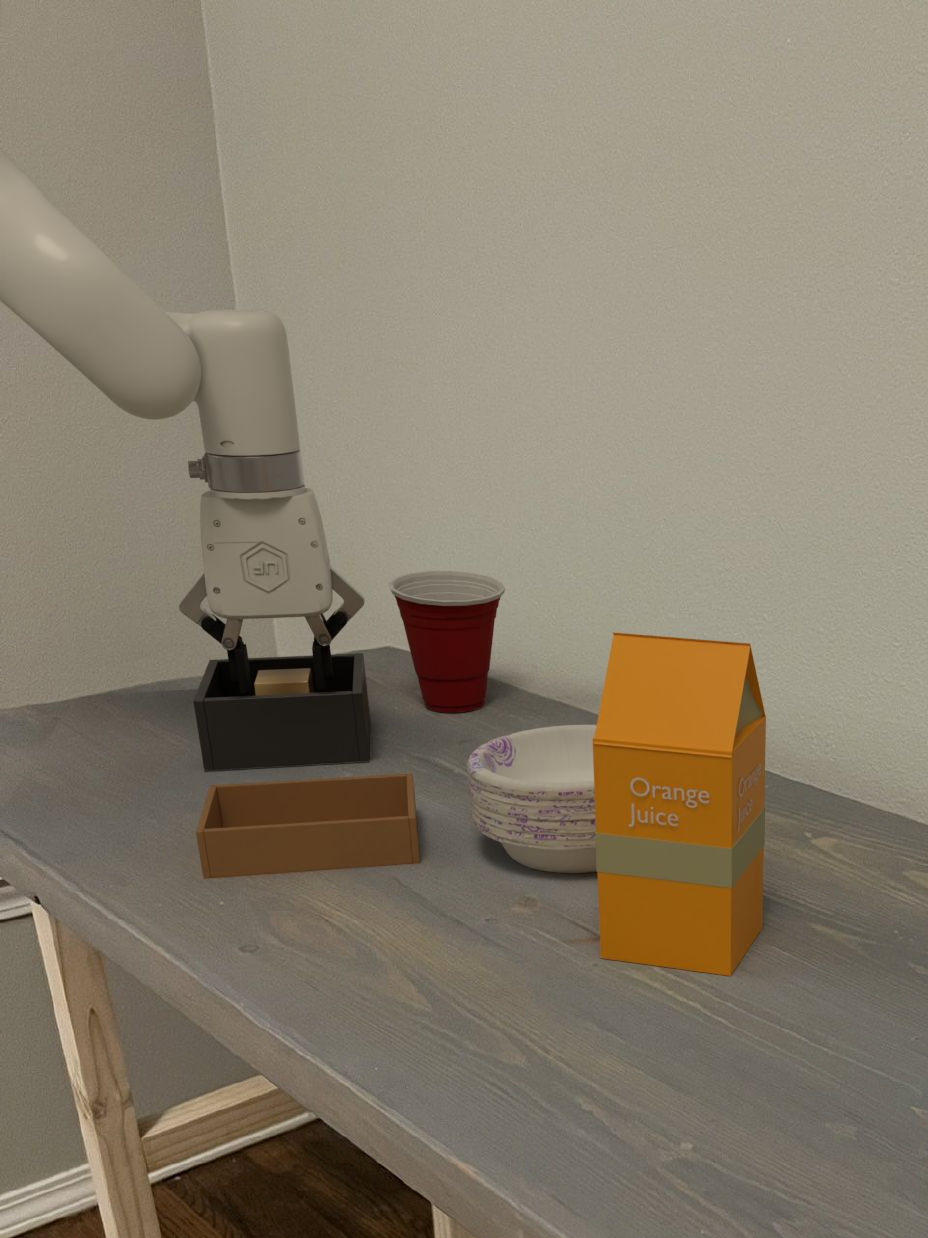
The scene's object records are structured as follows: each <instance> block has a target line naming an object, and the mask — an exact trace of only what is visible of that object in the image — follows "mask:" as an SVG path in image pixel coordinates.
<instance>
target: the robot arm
mask: <svg viewBox="0 0 928 1238" xmlns="http://www.w3.org/2000/svg"><path fill="white" fill-rule="evenodd" d="M0 302H1V303H2V304H4V306H5V307H7V308H8V309H9V310H10V311H12V312H13V314H16V316H17V317H18V318H19V319H20V320H22V321H23V323H25V324H26V325H27V326H29V328H31V329H32V330H33V331H34V332H35V333H36V334H37V335H38V336H40V337H41V338H42V339H43V340H45V342H46V343H48V344H49V345H50V346H51V347H52V348H53V349H54V350H56V352H58V354H60V355H61V356H62V357H63V358H64V359H65V360H67V361H68V362H69V363H70V364H71V365H72V366H73V367H74V368H75V369H76V370H77V371H78V372H80V373H81V374H82V375H83V376H84V377H85V378H86V379H87V380H89V381H90V383H91V384H93V386H95V387H96V388H97V389H98V390H99V391H100V392H101V393H103V395H105V396H106V397H107V398H108V399H109V400H110V401H111V402H112V403H113V404H114V405H116V407H118V408H119V409H121V410H122V411H124V412H126V413H128V414H130V415H132V416H135V417H137V418H140V419H146V420H152V421H153V420H154V421H155V420H165V419H169V418H173V417H175V416H177V415H178V414H180V413H183V411H185V410H186V409H187V408H188V407H189V406H190V405H191V404H192V403H193V402H195V403H196V405H197V408H198V414H199V422H200V429H201V434H202V435H201V436H202V442H203V448H204V452H205V453H204V454H203V456H202V457H201V458H197V460H188V461H187V468H188V474H189V478H190V479H199V480H203V481H204V483H207V485H208V489H209V490H207V491H204V492H203V493H202V494H201V495H200V507H199V509H200V511H199V524H200V527H199V528H200V542H201V555H202V565H203V573H202V574H201V576H200V577H199V578H198V580H197V581H196V583H195V584H193V586H192V587H191V588H190V590H189V591H188V593H187V594H185V596H184V597H183V599H182V600H181V601H180V603H179V605H178V609H179V611H180V613H181V614H183V615H184V616H185V617H187V618H188V619H189V620H191V621H192V622H193V623H195V625H196V624H197V625H198V626H199V627H201V629H202V630H203V631H204V632H206V634H208V635H209V636H210V637H212V638H213V639H214V640H216V641H217V642H218V643H219V644H220V645H221V646H222V648H223V649H224V650H225V651H226V654H227V659H228V661H229V667H230V674H231V681H232V684H239V685H240V692H241V696H247V695H248V694H250V691H251V688H252V681H251V674H250V667H249V660H248V658H249V653H248V648H247V647H248V646H247V644H246V643H245V642H244V641H243V637H242V636H241V635H240V634H241V630H242V627H243V622H244V620H255V619H256V620H257V619H258V620H259V619H281V618H282V619H283V618H285V619H286V618H305V620H306V622H307V624H308V626H309V627H310V628H309V629H310V630H311V632H312V634H313V641H312V647H311V651H312V655H313V661H314V669H315V677H316V686H317V691H320V692H326V685H327V682H326V680H333V667H332V659H331V655H332V651H331V650H332V649H331V643H332V641H333V640H334V639H335V638H336V637H337V635H338V634H339V633H340V632H341V631H342V630H343V629H344V627H345V626H346V625H347V624H348V622H349V621H350V620H351V619H353V617H355V615H357V613H358V612H359V611H360V610H361V609H362V608H363V607H364V606H365V602H366V601H365V600H366V599H365V596H364V595H363V593H361V591H359V590H358V589H357V588H356V587H355V586H354V585H352V583H350V582H349V581H348V580H347V579H346V578H345V577H344V576H343V575H342V574H341V573H340V572H338V570H336V569H335V568H334V567H333V566H332V565H331V561H330V556H329V555H330V554H329V549H328V544H327V537H326V533H325V528H324V524H323V519H322V515H321V512H320V508H319V507H320V506H319V504H318V501H317V497H316V495H315V492H314V490H313V489H311V488H309V487H306V485H305V477H304V468H303V467H304V466H303V459H302V450H301V443H300V433H299V426H298V425H299V424H298V417H297V410H296V402H295V401H296V400H295V393H294V384H293V376H292V367H291V360H290V359H291V357H290V350H289V341H288V335H287V330H286V326H285V324H284V322H283V320H282V319H281V318H280V317H279V316H277V315H276V313H273V312H271V311H267V310H261V309H210V310H203V311H200V312H197V313H187V312H176V311H165V310H164V309H163V308H162V307H160V306H159V305H158V304H157V303H156V302H155V301H154V300H153V299H152V298H151V297H150V296H149V295H148V294H147V293H146V292H145V291H144V290H143V289H142V288H141V287H140V286H139V285H138V284H137V283H136V282H134V281H133V280H132V279H131V277H129V276H128V275H127V274H126V273H125V272H124V271H123V270H122V269H121V267H119V266H118V265H117V264H116V263H115V262H114V261H113V260H112V259H111V258H110V257H108V255H107V254H105V253H104V252H103V251H102V250H101V249H100V248H99V247H98V246H97V245H96V244H95V243H94V242H93V241H92V240H91V239H90V238H89V237H87V235H85V234H84V232H82V231H81V230H80V229H79V228H78V227H77V226H76V225H75V224H74V223H73V222H72V221H71V220H70V218H68V217H67V216H66V215H65V214H64V213H63V212H62V211H61V210H60V209H59V208H58V207H57V206H56V205H55V204H54V203H53V202H52V200H51V199H50V198H49V197H48V196H47V195H46V194H45V192H44V191H43V190H42V189H41V188H40V187H39V186H38V185H37V183H35V181H33V179H32V178H31V177H30V176H29V175H27V174H26V172H24V171H23V170H22V169H21V168H20V167H19V166H18V165H17V163H15V162H14V161H13V159H11V158H10V157H9V156H8V155H7V154H6V153H5V152H4V151H3V150H2V149H1V148H0ZM334 592H335V593H336V594H337V595H338V596H339V597H340V598H341V599H342V601H343V603H341V605H339V607H338V608H337V609H335V610H334V612H332V614H331V615H329V617H328V619H327V618H326V615H325V613H326V612H328V611H329V610H330V609H331V607H332V604H333V600H334V599H333V598H334V594H333V593H334ZM206 597H207V603H208V606H209V609H210V611H211V612H209V611H208V610H207V609H206V608H204V606H203V604H202V603H203V602H204V600H205V598H206ZM218 617H220V618H222V619H226V622H224V621H222V620H221V619H220V618H218Z"/></svg>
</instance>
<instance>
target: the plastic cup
mask: <svg viewBox="0 0 928 1238" xmlns="http://www.w3.org/2000/svg"><path fill="white" fill-rule="evenodd" d="M388 587H389V589H390V592H391V595H393V596H394V598H395V601H396V605H397V607H398V611H399V614H400V617H401V620H402V623H403V627H404V631H405V635H406V640H407V643H408V648H409V652H410V655H411V660H412V664H413V668H414V672H415V674H416V676H417V680H418V683H419V688H420V693H421V696H422V699H423V702H424V705H425V706H426V709H427V710H430V711H432V712H438V713H445V714H446V713H448V714H453V713H454V714H457V713H466V712H467V713H468V712H471V711H475V710H478V709H481V708H483V706H484V705H485V699H486V697H487V688H488V678H489V677H488V676H489V671H490V667H491V658H492V657H491V656H492V648H493V639H494V629H495V620H496V618H497V612H498V608H499V605H500V600H501V597H502V596H503V595H504V594H505V591H506V587H505V585H504V584H503V582H501V581H500V580H498V579H496V578H493V577H491V576H488V575H483V574H480V573H479V574H478V573H474V572H465V571H456V570H426V571H418V572H410V573H406V574H403V575H401V576H400V575H399V576H396V577H394V578H393V579H392V580H391V581H389V582H388Z"/></svg>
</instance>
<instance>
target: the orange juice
mask: <svg viewBox="0 0 928 1238" xmlns="http://www.w3.org/2000/svg"><path fill="white" fill-rule="evenodd" d="M612 635H613V636H612V641H611V646H610V651H609V655H608V656H609V658H608V661H607V668H606V672H605V678H604V683H603V689H602V693H601V699H600V705H599V711H598V717H597V721H596V725H597V726H596V731H595V737H594V738H592V739H593V766H594V793H595V819H596V833H595V842H596V869H597V871H596V873H597V894H598V896H597V897H598V922H599V925H598V926H599V950H600V959H605V960H611V961H619V962H627V963H633V964H640V965H649V966H654V967H655V966H656V967H661V968H668V969H669V968H670V969H675V970H677V969H678V970H683V971H690V972H698V973H704V974H713V975H719V976H725V977H726V976H727V977H731V976H732V975H733V973H734V972H735V970H736V969H737V967H738V966H739V965H740V963H741V961H742V960H743V958H744V956H745V955H746V953H747V952H748V950H749V949H750V947H752V944H753V943H754V941H755V940H756V938H757V937H758V936H759V934H760V932H761V931H762V929H763V913H764V912H763V911H764V910H763V909H764V908H763V907H764V854H765V853H764V852H765V851H764V849H765V845H766V843H765V839H766V838H765V837H766V836H765V835H766V807H765V804H766V803H765V802H766V801H765V799H766V798H765V797H766V739H767V733H766V732H767V716H766V711H765V707H764V702H763V697H762V693H761V689H760V683H759V679H758V674H757V670H756V665H755V659H754V656H753V651H752V646H751V643H748V642H747V643H746V642H735V641H723V640H711V639H699V638H698V639H697V638H687V637H675V636H674V637H673V636H660V635H650V634H649V635H648V634H638V633H637V634H636V633H623V632H612Z"/></svg>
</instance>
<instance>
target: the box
mask: <svg viewBox="0 0 928 1238" xmlns="http://www.w3.org/2000/svg"><path fill="white" fill-rule="evenodd" d="M415 792H416V791H415V782H414V774H413V773H412V772H411V773H396V774H395V773H394V774H378V775H361V776H360V775H359V776H345V777H327V778H310V779H308V778H307V779H294V780H275V781H274V780H273V781H259V782H244V783H243V782H242V783H241V782H240V783H225V784H223V783H222V784H210V785H209V787H208V790H207V793H206V798H205V800H204V804H203V807H202V811H201V814H200V818H199V821H198V823H197V828H196V830H195V836H196V841H197V847H198V853H199V860H200V865H201V871H202V878H203V879H204V880H210V879H221V878H222V879H223V878H236V877H237V878H238V877H252V876H253V877H254V876H265V875H266V876H267V875H279V874H281V875H282V874H293V873H295V874H296V873H306V872H307V873H309V872H321V871H335V870H348V869H349V870H350V869H363V868H378V867H379V868H380V867H392V866H394V867H395V866H407V865H420V864H421V861H420V859H421V858H420V846H419V845H420V844H419V830H418V815H417V814H418V813H417V802H416V794H415Z"/></svg>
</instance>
